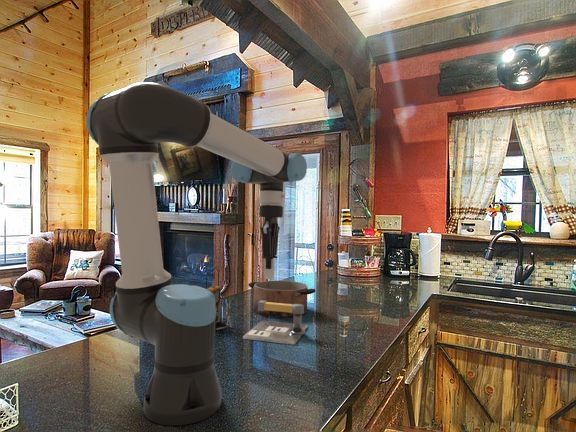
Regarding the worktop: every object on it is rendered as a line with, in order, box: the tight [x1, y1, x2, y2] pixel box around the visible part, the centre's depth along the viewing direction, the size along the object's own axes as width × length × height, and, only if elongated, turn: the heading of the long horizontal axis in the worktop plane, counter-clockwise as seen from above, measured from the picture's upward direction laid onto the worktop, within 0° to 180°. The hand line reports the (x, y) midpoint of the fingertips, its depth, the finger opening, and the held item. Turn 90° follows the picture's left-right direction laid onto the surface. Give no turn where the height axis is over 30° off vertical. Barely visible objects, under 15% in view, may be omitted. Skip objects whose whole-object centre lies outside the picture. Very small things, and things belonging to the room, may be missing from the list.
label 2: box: [265, 326, 289, 334], centre depth 121 cm, size 5×7×1 cm
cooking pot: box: [248, 280, 316, 318], centre depth 151 cm, size 30×22×11 cm
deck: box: [242, 314, 308, 346], centre depth 121 cm, size 19×18×7 cm
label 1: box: [247, 330, 273, 338], centre depth 116 cm, size 5×7×1 cm
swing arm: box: [258, 300, 304, 315], centre depth 121 cm, size 16×4×3 cm, turn 76°
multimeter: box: [205, 267, 232, 331], centre depth 128 cm, size 15×10×20 cm
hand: (269, 278), depth 115 cm, fingers closed
